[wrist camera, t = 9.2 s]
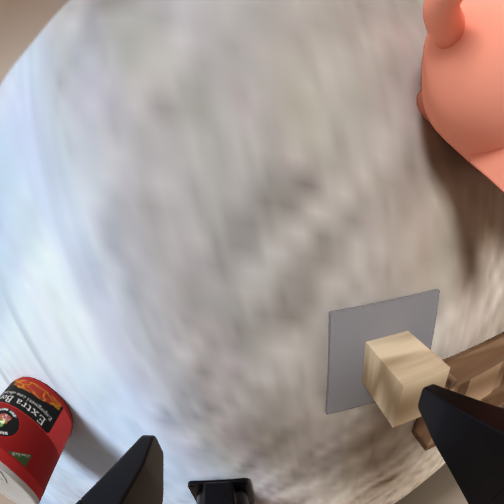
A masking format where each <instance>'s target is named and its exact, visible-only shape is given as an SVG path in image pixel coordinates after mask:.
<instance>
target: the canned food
mask: <svg viewBox="0 0 504 504" xmlns="http://www.w3.org/2000/svg"><path fill="white" fill-rule="evenodd" d="M72 424H73V420H72V415H71V413H70V411H69V409H68V407H67V405H66V404H65V403H64V401H63V400H62V399H61V398H60V397H59V395H58V394H57V393H56V392H54V391H53V390H52V389H51V388H50V387H48V386H47V385H46V384H44V383H42V382H41V381H39V380H37V379H34V378H31V377H21V378H19V379H16V380H14V381H13V382H12V383H11V384H10V385H9V387H8V388H7V389H6V390H5V391H4V392H3V393H2V395H1V396H0V493H1V494H2V495H4V496H5V497H7V498H9V499H10V500H12V501H14V502H15V503H18V504H39V502H40V500H41V498H42V496H43V494H44V491H45V489H46V486H47V484H48V482H49V480H50V477H51V475H52V473H53V470H54V468H55V466H56V464H57V462H58V460H59V457H60V455H61V453H62V451H63V449H64V447H65V445H66V443H67V441H68V439H69V436H70V434H71V432H72Z"/></svg>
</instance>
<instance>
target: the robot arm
mask: <svg viewBox="0 0 504 504" xmlns="http://www.w3.org/2000/svg"><path fill="white" fill-rule="evenodd" d="M418 409H419V411H420V414H421V416H422V418H423V420H424V422H425V425H426V427H427V429H428V431H429V433H430V436H431V438H432V440H433V442H434V444H435V445H436V447H437V449H438V450H439V452H440V454H441V455H442V457H443V459H444V461H445V462H446V464H447V466H448V468H449V469H450V471H451V473H452V475H453V476H454V478H455V480H456V482H457V484H458V485H459V487H460V489H461V491H462V493H463V494H464V496H465V498H466V500H467V502H468V504H504V408H501V407H498V406H495V405H492V404H489V403H486V402H483V401H480V400H477V399H474V398H471V397H468V396H465V395H463V394H460V393H457V392H454V391H452V390H449V389H446V388H443V387H441V386H438V385H435V384H431V385H428V386H426V387H424V388H423V389H422V392H421V396H420V399H419V402H418ZM188 487H189V489H190V491H191V493H192V495H193V496H194V498H195V500H196V502H197V504H254V500H253V496H252V492H251V488H250V483H249V480H248V479H235V480H221V481H192V482H188ZM162 502H163V451H162V449H161V447H160V445H159V443H158V441H157V438H156V437H155V436H152V435H143V436H141V437H140V438H139V439H138V441H137V442H136V443H135V444H134V445H133V446H132V447H131V448H130V449H129V450H128V451H127V452H126V453H125V454H124V455H123V456H122V457H121V459H120V460H119V461H118V462H117V463H116V464H115V465H114V466H113V467H112V468H111V469H110V470H109V471H108V472H107V473H106V474H105V475H104V476H103V477H102V478H101V479H100V480H99V481H98V482H97V483H96V484H95V485H94V486H93V487H92V488H91V489H90V490H89V491H88V492H87V493H86V494H85V495H84V496H83V497H82V498H81V500H79V501H78V502H77V503H76V504H162Z"/></svg>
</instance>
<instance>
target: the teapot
mask: <svg viewBox="0 0 504 504" xmlns="http://www.w3.org/2000/svg"><path fill="white" fill-rule="evenodd" d="M423 19H424V22H425V26H426V29H427V36H426V40H425V44H424V49H423V56H422V91H420V92H419V93H418V95H417V106H418V109H419V111H420V113H421V114H422V116H423V117H424V118H425V119H426V120H428V121H430V123H431V124H432V126H433V127H434V129H435V130H436V131H437V132H438V133H439V134H440V135H441V136H442V138H443V139H444V140H445V141H446V142H447V143H449V144H450V145H451V146H452V147H453V148H454V149H455V150H456V151H457V152H458V153H459V154H460V155H461V156H463V157H464V158H465V159H466V160H467V161H468V162H469V163H470V164H472V165H473V166H474V167H475V168H477V169H478V170H479V171H480V172H482V173H483V174H484V175H485V176H486V177H487V178H489V179H490V180H491V181H492V182H493V183H494V184H495V185H496V186H497V187H498V188H499V189H500V190H501V191H503V192H504V0H424V4H423Z"/></svg>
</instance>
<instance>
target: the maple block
mask: <svg viewBox="0 0 504 504" xmlns="http://www.w3.org/2000/svg"><path fill="white" fill-rule="evenodd" d="M449 370H450V367H449V366H448V365H447V364H446V363H445V362H444V361H442V360H441V359H440V358H439V357H438V356H437V355H436V354H434V353H433V352H432V351H431V350H430V349H429V348H428V347H426V346H425V345H424V344H423V343H422V342H421V341H419V340H418V339H417V338H416V337H415V336H414V335H412V334H411V333H410V332H409V331H405V332H401V333H398V334H394V335H391V336H387V337H383V338H379V339H375V340H371V341H367V342H366V344H365V355H364V365H363V375H362V383H363V384H364V386H365V387H366V389H367V390H368V392H369V393H370V395H371V396H372V398H373V399H374V401H375V402H376V404H377V405H378V407H379V408H380V410H381V411H382V413H383V414H384V416H385V417H386V419H387V420H388V422H389V423H390V425H391V426H392V428H394V427H396V426H399V425H402V424H404V423H407V422H409V421H412V420H414V419H417V418H419V417H421V414H420V411H419V409H418V402H419V399H420V396H421V392H422V389H423V388H424V387H426V386H428V385H431V384H435V385H438V386H441V387H443V388H444V387H445V384H446V381H447V378H448V374H449Z"/></svg>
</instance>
